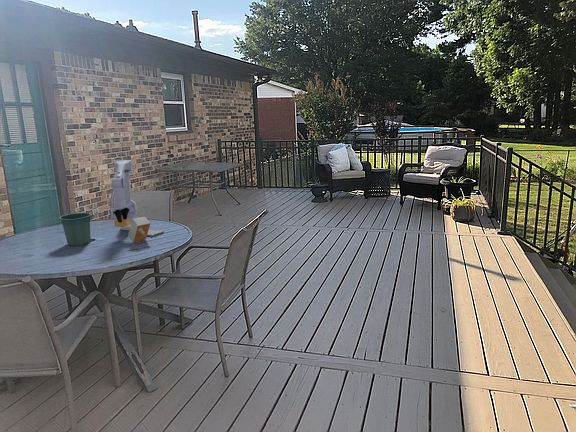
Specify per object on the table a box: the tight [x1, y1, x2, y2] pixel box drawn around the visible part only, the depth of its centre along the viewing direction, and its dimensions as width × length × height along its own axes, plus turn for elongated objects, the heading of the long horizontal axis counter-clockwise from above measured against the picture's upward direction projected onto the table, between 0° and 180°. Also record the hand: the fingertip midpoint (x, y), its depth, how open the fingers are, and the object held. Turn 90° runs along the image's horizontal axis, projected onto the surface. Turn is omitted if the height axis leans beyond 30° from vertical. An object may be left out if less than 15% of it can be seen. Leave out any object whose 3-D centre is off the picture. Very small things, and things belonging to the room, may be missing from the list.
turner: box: [113, 218, 131, 228], centre depth 256 cm, size 15×7×4 cm, turn 61°
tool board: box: [126, 229, 165, 238], centre depth 270 cm, size 20×10×1 cm, turn 65°
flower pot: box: [59, 212, 92, 247], centre depth 251 cm, size 16×16×16 cm
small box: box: [127, 216, 151, 243], centre depth 250 cm, size 8×6×13 cm
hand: (122, 221), depth 257 cm, fingers closed on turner, 3 cm apart
